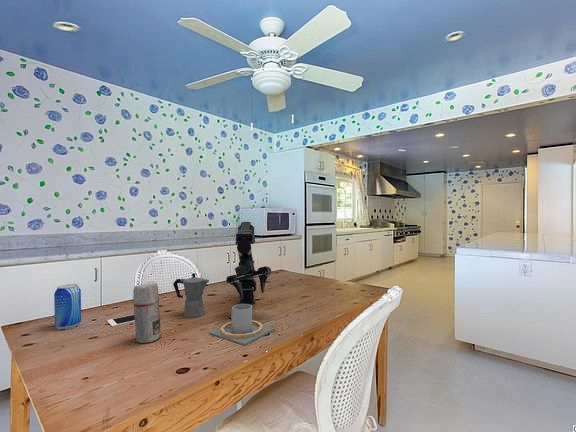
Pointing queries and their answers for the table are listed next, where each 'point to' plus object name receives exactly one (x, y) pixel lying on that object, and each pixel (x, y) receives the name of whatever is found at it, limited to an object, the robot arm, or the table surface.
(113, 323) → the cell phone
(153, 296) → the spray can
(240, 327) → the cup
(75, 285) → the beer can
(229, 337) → the collar mat
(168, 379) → the table surface
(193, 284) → the coffeepot
